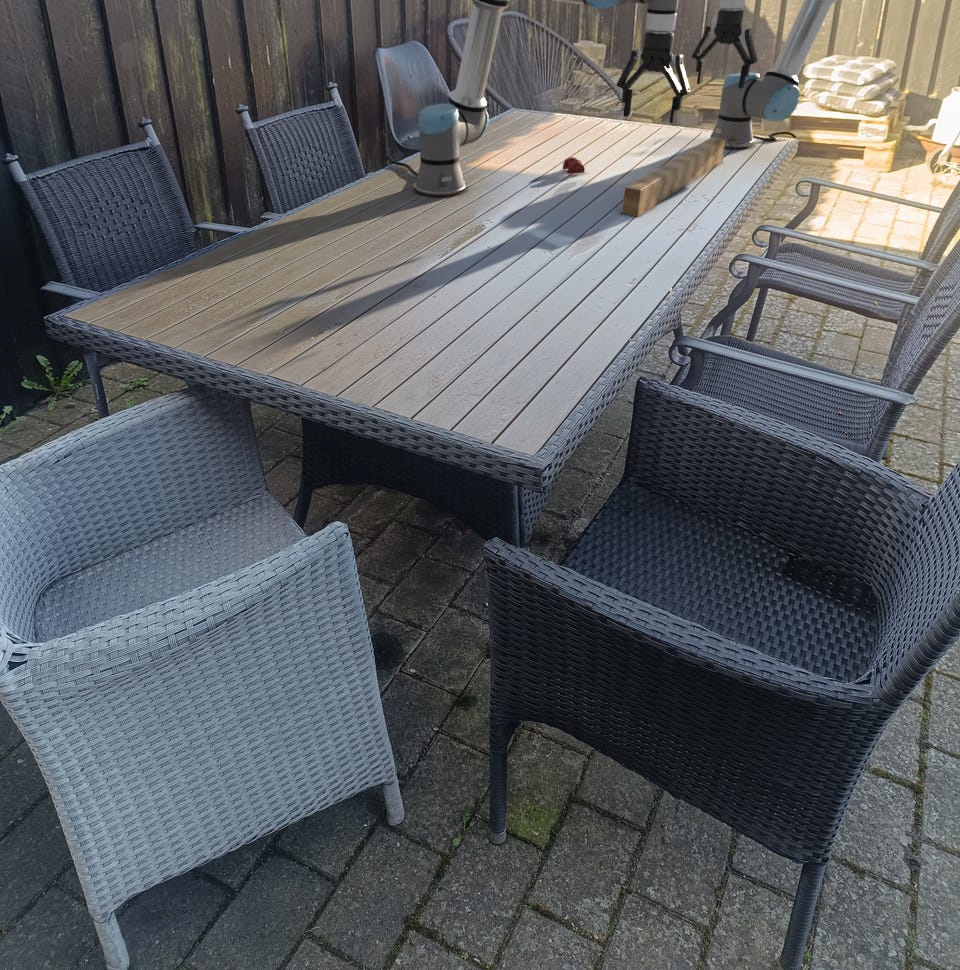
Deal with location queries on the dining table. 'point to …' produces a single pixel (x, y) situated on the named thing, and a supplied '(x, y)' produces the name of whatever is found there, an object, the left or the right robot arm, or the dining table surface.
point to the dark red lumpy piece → (573, 165)
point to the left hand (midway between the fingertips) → (649, 119)
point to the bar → (672, 176)
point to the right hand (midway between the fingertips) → (720, 85)
